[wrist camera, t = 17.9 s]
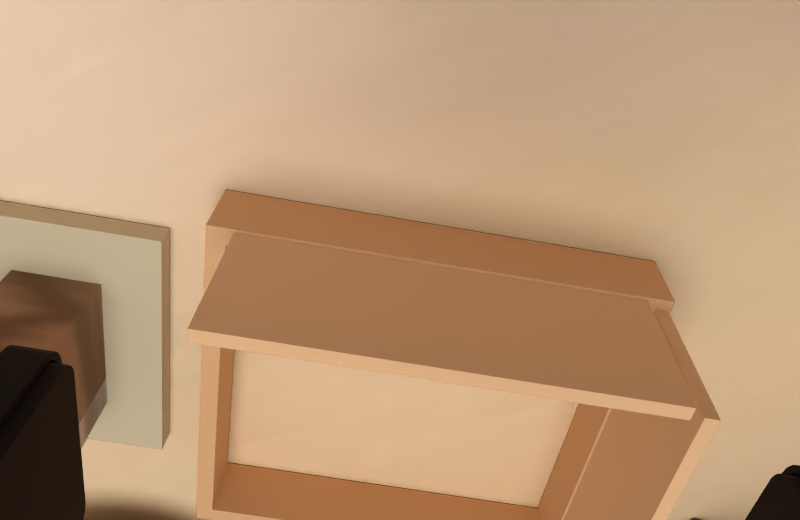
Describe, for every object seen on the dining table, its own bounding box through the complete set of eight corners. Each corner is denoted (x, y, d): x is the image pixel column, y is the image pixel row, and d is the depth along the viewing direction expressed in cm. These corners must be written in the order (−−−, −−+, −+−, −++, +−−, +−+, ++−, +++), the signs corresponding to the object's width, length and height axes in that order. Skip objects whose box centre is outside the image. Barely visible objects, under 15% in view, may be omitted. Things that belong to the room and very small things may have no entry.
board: (169, 228, 41) (161, 241, 39) (169, 433, 49) (162, 449, 48) (-49, 192, 40) (-65, 204, 39) (-12, 406, 48) (-24, 422, 47)
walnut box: (101, 284, 41) (44, 363, 35) (107, 402, 46) (58, 489, 40) (11, 269, 41) (-62, 347, 35) (26, 389, 45) (-36, 476, 39)
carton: (654, 261, 40) (730, 410, 30) (547, 519, 52) (576, 691, 42) (225, 189, 39) (152, 320, 29) (212, 470, 51) (156, 635, 40)
